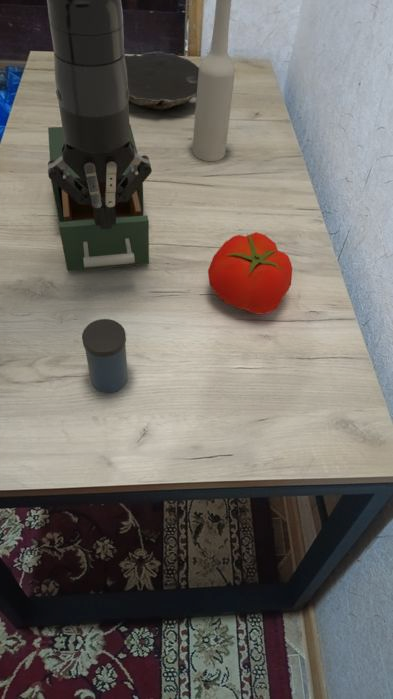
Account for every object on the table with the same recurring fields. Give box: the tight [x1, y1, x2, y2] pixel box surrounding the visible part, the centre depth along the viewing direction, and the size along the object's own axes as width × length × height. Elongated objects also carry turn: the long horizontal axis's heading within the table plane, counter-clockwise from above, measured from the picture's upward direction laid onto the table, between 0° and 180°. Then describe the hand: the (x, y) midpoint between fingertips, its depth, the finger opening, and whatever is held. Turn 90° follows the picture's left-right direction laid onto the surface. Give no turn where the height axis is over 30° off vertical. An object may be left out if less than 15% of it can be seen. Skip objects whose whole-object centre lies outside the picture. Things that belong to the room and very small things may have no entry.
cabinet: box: [47, 124, 144, 223], centre depth 82 cm, size 15×14×10 cm
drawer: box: [58, 180, 150, 272], centre depth 74 cm, size 18×12×8 cm
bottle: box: [192, 0, 236, 162], centre depth 87 cm, size 7×7×28 cm
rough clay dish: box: [125, 51, 199, 112], centre depth 108 cm, size 22×22×5 cm
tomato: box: [207, 231, 293, 315], centre depth 72 cm, size 13×12×8 cm
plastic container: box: [81, 318, 129, 394], centre depth 61 cm, size 5×5×9 cm
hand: (105, 225), depth 67 cm, fingers closed
